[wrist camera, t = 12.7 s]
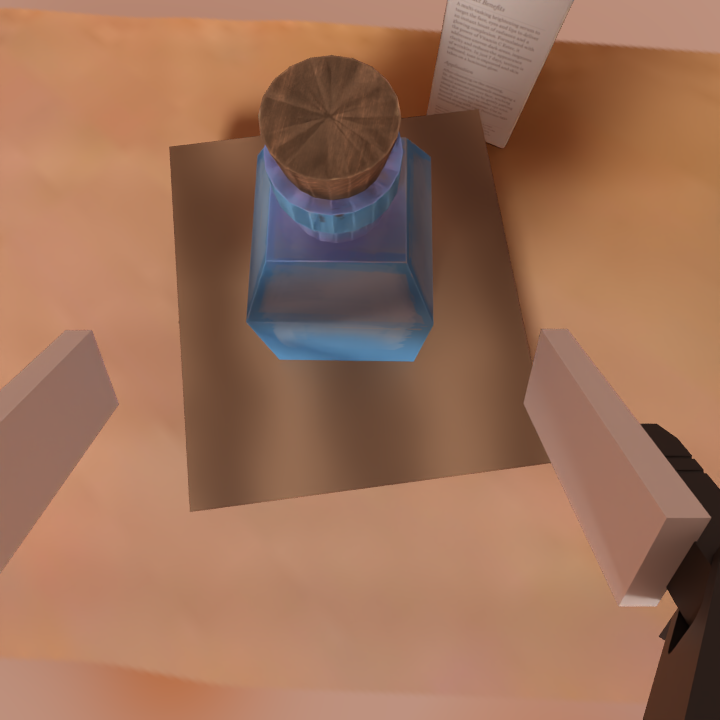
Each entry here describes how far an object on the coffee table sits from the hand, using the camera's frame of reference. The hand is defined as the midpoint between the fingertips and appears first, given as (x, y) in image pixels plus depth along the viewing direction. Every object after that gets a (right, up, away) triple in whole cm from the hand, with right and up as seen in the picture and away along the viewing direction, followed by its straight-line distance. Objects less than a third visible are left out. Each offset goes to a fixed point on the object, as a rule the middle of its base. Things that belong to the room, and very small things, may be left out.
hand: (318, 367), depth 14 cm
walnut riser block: (+1, +2, +14) cm, 14 cm away
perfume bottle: (+1, +3, +8) cm, 9 cm away
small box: (+9, +18, +17) cm, 26 cm away
